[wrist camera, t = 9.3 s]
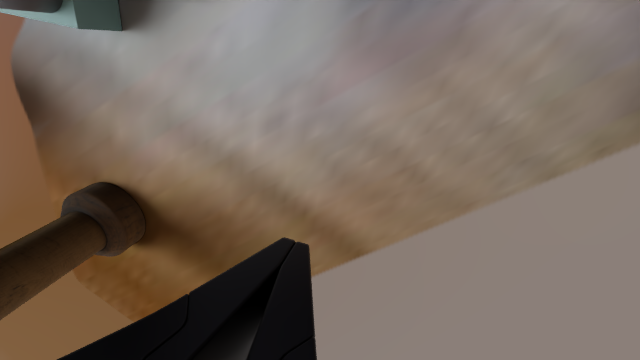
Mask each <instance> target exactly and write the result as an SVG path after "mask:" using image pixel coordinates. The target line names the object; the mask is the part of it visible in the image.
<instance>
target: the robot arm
mask: <svg viewBox="0 0 640 360" xmlns="http://www.w3.org/2000/svg"><path fill="white" fill-rule="evenodd" d="M314 330H315V329H314V315H313V300H312V283H311V268H310V252H309V245H308V244H305V243H301V242H295V241H294V240H291V239H288V238H281V239H280V240H278V241H276V242H275V243H273V244H271V245H269V246H268V247H266V248H264V249H263V250H261V251H259V252H258V253H256V254H254V255H252V256H251V257H249V258H247V259H246V260H244V261H242V262H240V263H239V264H237V265H235V266H234V267H232V268H230V269H229V270H227V271H225V272H223V273H222V274H220V275H218V276H217V277H215V278H213V279H212V280H210V281H208V282H206V283H205V284H203V285H201V286H200V287H198V288H196V289H195V290H193V291H191V292H190V293H189V295H188V294H186V295H184V296H182V297H181V298H179V299H177V300H176V301H174V302H172V303H170V304H168V305H167V306H165V307H163V308H161V309H159V310H158V311H156V312H154V313H152V314H150V315H148V316H146V317H144V318H142V319H140V320H138V321H136V322H134V323H132V324H130V325H128V326H127V327H125V328H122V329H120V330H118V331H116V332H114V333H112V334H110V335H108V336H105V337H103V338H101V339H99V340H97V341H95V342H93V343H91V344H89V345H87V346H85V347H83V348H80V349H78V350H76V351H74V352H72V353H70V354H68V355H66V356H64V357H61V358H59V359H57V360H317V356H316V344H315V331H314Z"/></svg>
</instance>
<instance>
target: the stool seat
mask: <svg viewBox="0 0 640 360" xmlns="http://www.w3.org/2000/svg"><path fill="white" fill-rule="evenodd" d="M0 12H2V13H6V14H11V15H16V16H21V17H25V18H30V19H35V20H39V21H44V22H49V23H54V24H58V25H63V26H68V27H72V28H77V29H93V30H111V31H122V27H121V19H120V12H119V4H118V0H0Z"/></svg>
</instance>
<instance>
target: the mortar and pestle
mask: <svg viewBox="0 0 640 360" xmlns="http://www.w3.org/2000/svg"><path fill="white" fill-rule="evenodd" d="M144 232H145V219H144V216H143V213H142V211H141V210H140V208H139V206H138V205H137V203H136V202H135V201H134V200H133V199H132V198H131V197H130V196H129V195H128V194H127V193H126V192H125V191H123V190H122V189H120V188H118V187H116V186H114V185H112V184H108V183H95V184H92V185H89V186H87V187H85V188H83V189H81V190H79V191H77V192H75V193H73V194H71V195H69V196H68V197H67V198H66V199H65V200H64V202H63V205H62V211H61V217H60V218H59V219H57V220H55V221H53V222H51V223H49V224H47V225H45V226H44V227H42V228H40V229H38V230H36V231H34V232H32V233H30V234H28V235H26V236H25V237H22V238H20V239H19V240H17V241H15V242H13V243H11V244H9V245H7V246H5V247H3V248H1V249H0V320H1V319H2V318H4V317H5V316H7V315H8V314H10V313H11V312H12V311H14V310H15V309H16V308H18V307H19V306H21V305H22V304H24V303H25V302H27V301H28V300H29V299H31V298H32V297H34V296H35V295H36V294H38V293H39V292H41V291H42V290H44V289H45V288H47V287H48V286H49V285H51V284H52V283H54V282H55V281H57V280H58V279H59V278H61V277H62V276H64V275H65V274H67V273H68V272H69V271H71V270H72V269H74V268H75V267H77V266H78V265H80V264H81V263H83V262H84V261H85V260H87V259H88V258H90V257H91V256H93V255H94V254H95V255H103V256H116V255H119V254H121V253H122V252H124V251H125V250H126V249H128V248H129V247H130V246H132V245H133V244H134V243H136V242H137V241H138V240H140V239H141V238H142V236H143V235H144Z"/></svg>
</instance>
